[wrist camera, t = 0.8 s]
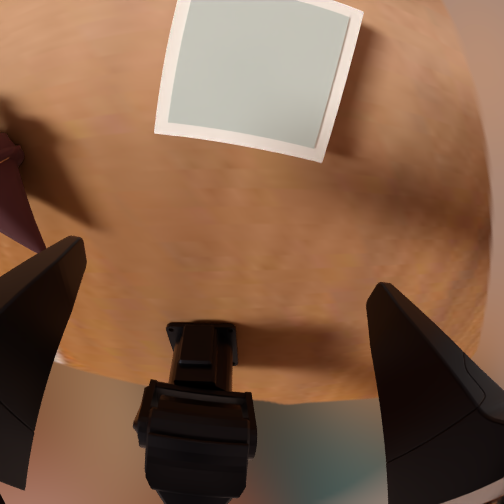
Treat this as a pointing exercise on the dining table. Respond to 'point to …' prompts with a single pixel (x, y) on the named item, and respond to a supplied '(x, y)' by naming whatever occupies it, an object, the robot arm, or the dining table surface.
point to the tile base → (257, 72)
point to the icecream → (16, 199)
